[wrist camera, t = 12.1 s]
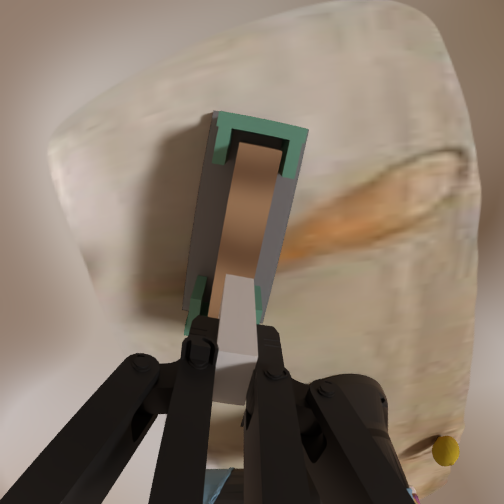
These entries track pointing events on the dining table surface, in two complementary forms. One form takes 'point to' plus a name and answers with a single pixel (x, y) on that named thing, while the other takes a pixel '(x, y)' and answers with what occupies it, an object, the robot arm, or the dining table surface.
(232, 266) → the slat
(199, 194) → the cradle
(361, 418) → the robot arm
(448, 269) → the dining table surface
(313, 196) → the dining table surface
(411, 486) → the milk bottle
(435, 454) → the lemon
